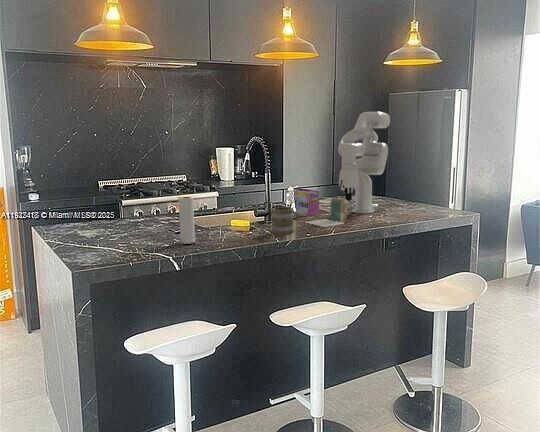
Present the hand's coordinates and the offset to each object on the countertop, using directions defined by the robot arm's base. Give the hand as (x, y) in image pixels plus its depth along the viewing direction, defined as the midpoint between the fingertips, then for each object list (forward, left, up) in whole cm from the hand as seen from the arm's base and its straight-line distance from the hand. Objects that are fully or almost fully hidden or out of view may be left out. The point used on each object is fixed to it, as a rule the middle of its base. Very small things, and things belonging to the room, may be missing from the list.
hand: (348, 200), depth 293 cm
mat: (+17, 0, -11) cm, 20 cm away
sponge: (+7, 0, -11) cm, 13 cm away
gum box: (+5, -34, -11) cm, 36 cm away
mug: (+47, +3, -11) cm, 48 cm away
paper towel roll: (+95, -3, -11) cm, 96 cm away
